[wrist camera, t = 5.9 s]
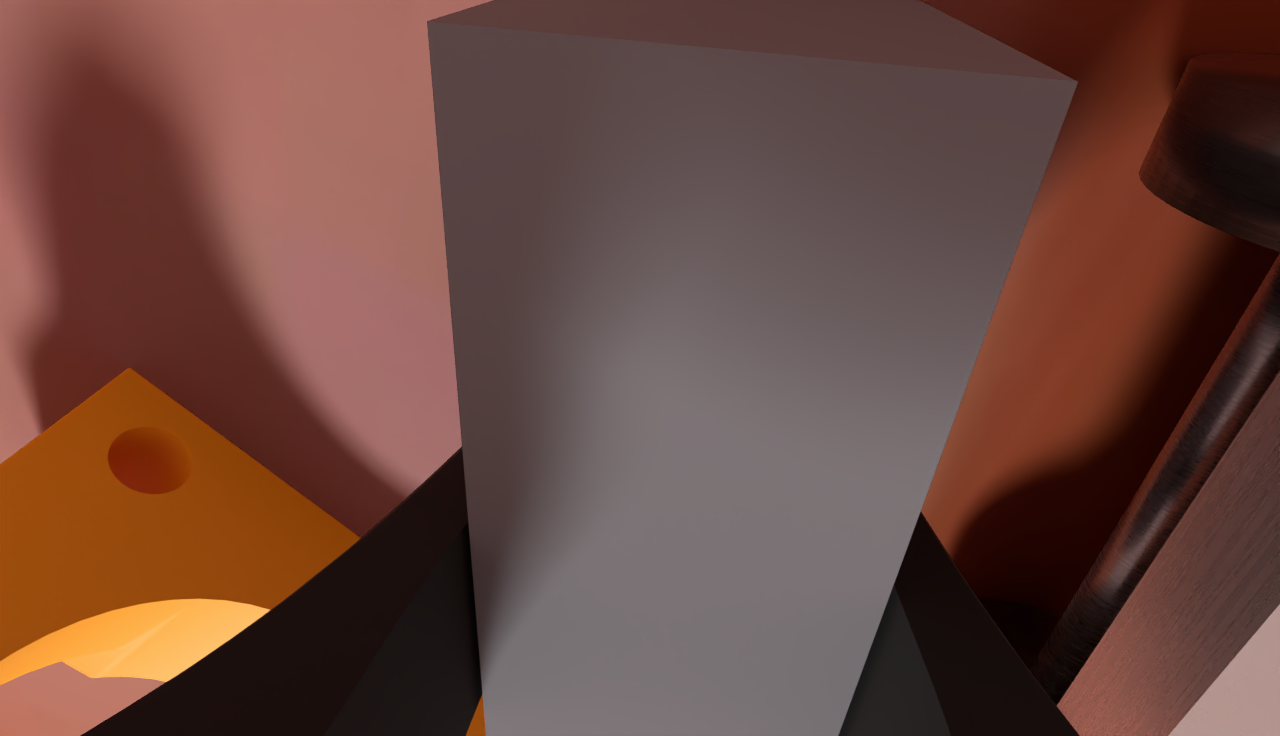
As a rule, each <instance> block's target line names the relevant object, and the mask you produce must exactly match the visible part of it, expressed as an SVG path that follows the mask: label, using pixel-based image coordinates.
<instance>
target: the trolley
mask: <svg viewBox="0 0 1280 736" xmlns="http://www.w3.org/2000/svg"><path fill="white" fill-rule="evenodd" d="M1139 175H1140V179H1141V181H1142V182H1143V184H1144V185H1145V186H1146V187H1147V188H1148V189H1149V190H1150V191H1151V192H1152V193H1153V194H1154V195H1156V196H1157V197H1159V198H1160V199H1161V200H1163V201H1164V202H1166V203H1167V204H1169V205H1171V206H1172V207H1174V208H1176V209H1178V210H1180V211H1181V212H1183V213H1185V214H1187V215H1189V216H1191V217H1193V218H1195V219H1197V220H1199V221H1201V222H1203V223H1205V224H1208V225H1210V226H1212V227H1215V228H1217V229H1219V230H1222V231H1224V232H1226V233H1229V234H1231V235H1234V236H1236V237H1239V238H1242V239H1244V240H1247V241H1250V242H1252V243H1255V244H1258V245H1260V246H1263V247H1266V248H1269V249H1272V250H1275V251H1278V252H1280V54H1264V53H1209V54H1201V55H1197V56H1194V57H1192V58H1190V60H1189V62H1188V64H1187V66H1186V69H1185V71H1184V73H1183V75H1182V78H1181V80H1180V82H1179V84H1178V86H1177V89H1176V91H1175V93H1174V95H1173V97H1172V100H1171V102H1170V104H1169V106H1168V109H1167V111H1166V113H1165V115H1164V117H1163V120H1162V122H1161V124H1160V126H1159V128H1158V131H1157V133H1156V135H1155V137H1154V139H1153V142H1152V144H1151V146H1150V148H1149V151H1148V153H1147V155H1146V157H1145V159H1144V162H1143V164H1142V166H1141V168H1140V171H1139ZM981 604H982V605H983V606H984V608H985V609H986V611H987V612H988V614H989V615H990V616H991V618H992V619H993V621H994V622H995V623H996V625H997V626H998V628H999V629H1000V630H1001V632H1002V633H1003V635H1004V636H1005V637H1006V639H1007V640H1008V642H1009V643H1010V644H1011V646H1012V647H1013V649H1014V650H1015V651H1016V653H1017V654H1018V656H1019V657H1020V658H1021V660H1022V661H1023V662H1024V664H1025V665H1026V666H1027V668H1028V669H1029V670H1030V672H1031V673H1032V675H1033V676H1034V677H1035V679H1036V680H1037V681H1038V683H1039V684H1040V685H1041V687H1042V688H1043V689H1044V691H1045V692H1046V693H1047V694H1048V696H1049V697H1050V698H1051V699H1052V701H1053V702H1054V703H1055V705H1056V706H1057V707H1058V708H1059V710H1060V711H1061V712H1062V714H1063V715H1064V716H1065V717H1066V719H1067V720H1068V721H1069V722H1070V724H1071V725H1072V726H1073V728H1074V729H1075V730H1076V731H1077V733H1078V734H1079V735H1080V736H1280V253H1279V255H1278V257H1277V258H1276V260H1275V262H1274V263H1273V265H1272V267H1271V268H1270V270H1269V272H1268V273H1267V275H1266V277H1265V278H1264V280H1263V282H1262V283H1261V285H1260V287H1259V288H1258V290H1257V292H1256V293H1255V295H1254V297H1253V298H1252V300H1251V302H1250V303H1249V305H1248V307H1247V308H1246V310H1245V312H1244V313H1243V315H1242V317H1241V318H1240V320H1239V322H1238V323H1237V325H1236V327H1235V328H1234V330H1233V332H1232V333H1231V335H1230V337H1229V338H1228V340H1227V342H1226V343H1225V345H1224V347H1223V348H1222V350H1221V352H1220V353H1219V355H1218V357H1217V358H1216V360H1215V362H1214V363H1213V365H1212V367H1211V368H1210V370H1209V372H1208V373H1207V375H1206V377H1205V378H1204V380H1203V382H1202V383H1201V385H1200V387H1199V388H1198V390H1197V392H1196V393H1195V395H1194V397H1193V398H1192V400H1191V402H1190V403H1189V405H1188V407H1187V408H1186V410H1185V412H1184V413H1183V415H1182V417H1181V418H1180V420H1179V422H1178V423H1177V425H1176V427H1175V429H1174V430H1173V432H1172V434H1171V435H1170V437H1169V439H1168V440H1167V442H1166V444H1165V445H1164V447H1163V449H1162V450H1161V452H1160V454H1159V455H1158V457H1157V459H1156V460H1155V462H1154V464H1153V465H1152V467H1151V469H1150V470H1149V472H1148V474H1147V475H1146V477H1145V479H1144V480H1143V482H1142V484H1141V485H1140V487H1139V489H1138V490H1137V492H1136V494H1135V495H1134V497H1133V499H1132V500H1131V502H1130V504H1129V505H1128V507H1127V509H1126V510H1125V512H1124V514H1123V515H1122V517H1121V519H1120V520H1119V522H1118V524H1117V525H1116V527H1115V529H1114V530H1113V532H1112V534H1111V535H1110V537H1109V539H1108V540H1107V542H1106V544H1105V545H1104V547H1103V549H1102V550H1101V552H1100V554H1099V555H1098V557H1097V559H1096V560H1095V562H1094V564H1093V565H1092V567H1091V569H1090V570H1089V572H1088V574H1087V575H1086V577H1085V579H1084V580H1083V582H1082V584H1081V585H1080V587H1079V589H1078V590H1077V592H1076V594H1075V595H1074V597H1073V599H1072V600H1071V602H1070V604H1069V605H1068V607H1067V609H1066V610H1065V612H1064V614H1063V615H1062V617H1061V618H1059V617H1057V616H1054V615H1052V614H1049V613H1046V612H1044V611H1041V610H1038V609H1034V608H1031V607H1027V606H1023V605H1018V604H1013V603H1003V602H982V603H981Z"/></svg>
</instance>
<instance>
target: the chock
mask: <svg viewBox="0 0 1280 736" xmlns="http://www.w3.org/2000/svg"><path fill="white" fill-rule="evenodd" d="M427 26H428V38H429V50H430V62H431V74H432V86H433V99H434V111H435V123H436V135H437V147H438V159H439V171H440V183H441V196H442V208H443V220H444V232H445V244H446V256H447V268H448V281H449V293H450V305H451V317H452V329H453V341H454V353H455V366H456V378H457V390H458V402H459V414H460V426H461V438H462V450H463V463H464V475H465V487H466V499H467V511H468V523H469V535H470V548H471V560H472V572H473V584H474V596H475V608H476V620H477V632H478V645H479V657H480V669H481V681H482V693H483V705H484V717H485V730H486V736H838V735H839V732H840V730H841V727H842V724H843V721H844V719H845V716H846V713H847V711H848V708H849V705H850V702H851V700H852V697H853V694H854V692H855V689H856V686H857V683H858V681H859V678H860V675H861V672H862V670H863V667H864V664H865V662H866V659H867V656H868V653H869V651H870V648H871V645H872V642H873V640H874V637H875V634H876V632H877V629H878V626H879V623H880V621H881V618H882V615H883V612H884V610H885V607H886V604H887V602H888V599H889V596H890V593H891V591H892V588H893V585H894V582H895V580H896V577H897V574H898V572H899V569H900V566H901V563H902V561H903V558H904V555H905V553H906V550H907V547H908V544H909V542H910V539H911V536H912V533H913V531H914V528H915V525H916V523H917V520H918V517H919V514H920V512H921V509H922V506H923V503H924V501H925V498H926V495H927V493H928V490H929V487H930V484H931V482H932V479H933V476H934V473H935V471H936V468H937V465H938V463H939V460H940V457H941V454H942V452H943V449H944V446H945V443H946V441H947V438H948V435H949V433H950V430H951V427H952V424H953V422H954V419H955V416H956V413H957V411H958V408H959V405H960V403H961V400H962V397H963V394H964V392H965V389H966V386H967V384H968V381H969V378H970V375H971V373H972V370H973V367H974V364H975V362H976V359H977V356H978V354H979V351H980V348H981V345H982V343H983V340H984V337H985V334H986V332H987V329H988V326H989V324H990V321H991V318H992V315H993V313H994V310H995V307H996V304H997V302H998V299H999V296H1000V294H1001V291H1002V288H1003V285H1004V283H1005V280H1006V277H1007V274H1008V272H1009V269H1010V266H1011V264H1012V261H1013V258H1014V255H1015V253H1016V250H1017V247H1018V245H1019V242H1020V239H1021V236H1022V234H1023V231H1024V228H1025V225H1026V223H1027V220H1028V217H1029V215H1030V212H1031V209H1032V206H1033V204H1034V201H1035V198H1036V195H1037V193H1038V190H1039V187H1040V185H1041V182H1042V179H1043V176H1044V174H1045V171H1046V168H1047V165H1048V163H1049V160H1050V157H1051V155H1052V152H1053V149H1054V146H1055V144H1056V141H1057V138H1058V135H1059V133H1060V130H1061V127H1062V125H1063V122H1064V119H1065V116H1066V114H1067V111H1068V108H1069V106H1070V103H1071V100H1072V97H1073V95H1074V92H1075V89H1076V86H1077V84H1078V81H1076V80H1074V79H1072V78H1070V77H1068V76H1066V75H1064V74H1062V73H1060V72H1058V71H1056V70H1055V69H1053V68H1051V67H1049V66H1047V65H1045V64H1043V63H1041V62H1039V61H1037V60H1035V59H1033V58H1031V57H1029V56H1027V55H1025V54H1023V53H1021V52H1019V51H1018V50H1016V49H1014V48H1012V47H1010V46H1008V45H1006V44H1004V43H1002V42H1000V41H998V40H996V39H994V38H992V37H990V36H988V35H986V34H984V33H983V32H981V31H979V30H977V29H975V28H973V27H971V26H969V25H967V24H965V23H963V22H961V21H959V20H957V19H955V18H953V17H951V16H949V15H947V14H946V13H944V12H942V11H940V10H938V9H936V8H934V7H932V6H930V5H928V4H926V3H924V2H922V1H920V0H494V1H490V2H487V3H484V4H481V5H478V6H474V7H471V8H468V9H465V10H462V11H459V12H455V13H452V14H449V15H446V16H443V17H439V18H436V19H433V20H430V21H427Z"/></svg>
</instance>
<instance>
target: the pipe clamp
mask: <svg viewBox="0 0 1280 736" xmlns="http://www.w3.org/2000/svg"><path fill="white" fill-rule="evenodd" d="M359 539H360V537H359V536H357V535H356V534H355V533H353V532H352V531H351V530H349V529H348V528H347V527H345V526H344V525H342V524H341V523H340V522H338V521H337V520H336V519H334V518H333V517H332V516H330V515H329V514H328V513H326V512H325V511H323V510H322V509H321V508H319V507H318V506H317V505H315V504H314V503H313V502H311V501H310V500H309V499H307V498H306V497H304V496H303V495H302V494H300V493H299V492H298V491H296V490H295V489H294V488H292V487H291V486H290V485H288V484H287V483H286V482H284V481H283V480H281V479H280V478H279V477H277V476H276V475H275V474H273V473H272V472H271V471H269V470H268V469H267V468H265V467H264V466H262V465H261V464H260V463H258V462H257V461H256V460H254V459H253V458H252V457H250V456H249V455H248V454H246V453H245V452H243V451H242V450H241V449H239V448H238V447H237V446H235V445H234V444H233V443H231V442H230V441H229V440H227V439H226V438H225V437H223V436H222V435H220V434H219V433H218V432H216V431H215V430H214V429H212V428H211V427H210V426H208V425H207V424H206V423H204V422H203V421H201V420H200V419H199V418H197V417H196V416H195V415H193V414H192V413H191V412H189V411H188V410H187V409H185V408H184V407H182V406H181V405H180V404H178V403H177V402H176V401H174V400H173V399H172V398H170V397H169V396H168V395H166V394H165V393H164V392H162V391H161V390H159V389H158V388H157V387H155V386H154V385H153V384H151V383H150V382H149V381H147V380H146V379H145V378H143V377H142V376H140V375H139V374H138V373H136V372H135V371H134V370H132V369H131V368H130V367H129V368H128V369H126V370H125V371H124V372H122V373H121V374H120V375H118V376H117V377H116V378H114V379H113V380H112V381H110V382H109V383H108V384H106V385H105V386H104V387H102V388H101V389H100V390H98V391H97V392H96V393H94V394H93V395H92V396H90V397H89V398H88V399H86V400H85V401H84V402H82V403H81V404H80V405H78V406H77V407H76V408H74V409H73V410H72V411H70V412H69V413H68V414H66V415H65V416H64V417H62V418H61V419H60V420H58V421H57V422H56V423H54V424H53V425H52V426H50V427H49V428H48V429H46V430H45V431H44V432H43V433H41V434H40V435H39V436H37V437H36V438H35V439H33V440H32V441H31V442H29V443H28V444H27V445H25V446H24V447H23V448H21V449H20V450H19V451H17V452H16V453H15V454H13V455H12V456H11V457H9V458H8V459H7V460H5V461H4V462H3V463H1V464H0V685H1V684H4V683H6V682H8V681H10V680H12V679H15V678H17V677H19V676H21V675H23V674H26V673H29V672H31V671H34V670H37V669H40V668H42V667H45V666H48V665H51V664H54V663H57V662H61V661H62V662H64V663H66V664H67V665H69V666H71V667H73V668H74V669H76V670H78V671H80V672H81V673H83V674H85V675H87V676H88V677H90V678H99V677H136V678H147V679H155V680H160V681H165V682H167V681H169V680H170V679H172V678H173V677H175V676H177V675H178V674H180V673H181V672H183V671H184V670H186V669H187V668H189V667H190V666H192V665H193V664H195V663H196V662H198V661H199V660H201V659H202V658H204V657H205V656H207V655H208V654H209V653H211V652H212V651H214V650H215V649H217V648H218V647H220V646H221V645H222V644H224V643H225V642H227V641H228V640H230V639H231V638H233V637H234V636H235V635H237V634H238V633H240V632H241V631H242V630H244V629H245V628H247V627H248V626H249V625H251V624H252V623H254V622H255V621H256V620H258V619H259V618H260V617H262V616H263V615H264V614H266V613H267V612H268V611H270V610H271V609H273V608H274V607H275V606H277V605H278V604H279V603H281V602H282V601H283V600H285V599H286V598H287V597H288V596H290V595H291V594H292V593H293V592H295V591H296V590H297V589H299V588H300V587H301V586H302V585H304V584H305V583H306V582H307V581H309V580H310V579H311V578H312V577H314V576H315V575H316V574H317V573H319V572H320V571H321V570H322V569H324V568H325V567H326V566H327V565H329V564H330V563H331V562H332V561H334V560H335V559H336V558H337V557H339V556H340V555H341V554H342V553H344V552H345V551H346V550H347V549H349V548H350V547H351V546H352V545H353V544H355V543H356V542H357V541H358V540H359ZM466 736H486V730H485V717H484V705H483V694H482V696H481V699H480V701H479V704H478V706H477V709H476V711H475V714H474V716H473V719H472V721H471V724H470V726H469V729H468V731H467V734H466Z"/></svg>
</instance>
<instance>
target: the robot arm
mask: <svg viewBox="0 0 1280 736" xmlns="http://www.w3.org/2000/svg"><path fill="white" fill-rule="evenodd" d="M482 694H483V693H482V681H481V669H480V657H479V645H478V632H477V620H476V608H475V596H474V584H473V572H472V560H471V548H470V535H469V523H468V511H467V499H466V487H465V475H464V463H463V450H462V447H461V448H460V449H459V450H458V451H457V452H456V453H455V454H453V455H452V456H451V457H450V458H449V459H448V460H447V461H446V462H445V463H444V464H443V465H442V466H441V467H440V468H439V469H438V470H437V471H435V472H434V473H433V474H432V475H431V476H430V477H429V478H428V479H427V480H426V481H425V482H424V483H423V484H421V485H420V486H419V487H418V488H417V489H416V490H415V491H414V492H413V493H412V494H411V495H409V496H408V497H407V498H406V499H405V500H404V501H403V502H402V503H401V504H399V505H398V506H397V507H396V508H395V509H394V510H393V511H391V512H390V513H389V514H388V515H387V516H386V517H384V518H383V519H382V520H381V521H380V522H379V523H378V524H376V525H375V526H374V527H373V528H372V529H371V530H370V531H368V532H367V533H366V534H365V535H364V536H363V537H362V538H360V539H359V540H358V541H357V542H356V543H355V544H353V545H352V546H351V547H350V548H349V549H347V550H346V551H345V552H344V553H342V554H341V555H340V556H339V557H337V558H336V559H335V560H334V561H332V562H331V563H330V564H329V565H327V566H326V567H325V568H324V569H322V570H321V571H320V572H319V573H317V574H316V575H315V576H314V577H312V578H311V579H310V580H309V581H307V582H306V583H305V584H304V585H302V586H301V587H300V588H299V589H297V590H296V591H295V592H293V593H292V594H291V595H290V596H288V597H287V598H286V599H285V600H283V601H282V602H281V603H279V604H278V605H277V606H275V607H274V608H273V609H271V610H270V611H268V612H267V613H266V614H264V615H263V616H262V617H260V618H259V619H258V620H256V621H255V622H254V623H252V624H251V625H249V626H248V627H247V628H245V629H244V630H242V631H241V632H240V633H238V634H237V635H235V636H234V637H233V638H231V639H230V640H228V641H227V642H225V643H224V644H222V645H221V646H220V647H218V648H217V649H215V650H214V651H212V652H211V653H209V654H208V655H207V656H205V657H204V658H202V659H201V660H199V661H198V662H196V663H195V664H193V665H192V666H190V667H189V668H187V669H186V670H184V671H183V672H181V673H180V674H178V675H177V676H175V677H173V678H172V679H170V680H169V681H167V682H166V683H164V684H163V685H161V686H159V687H158V688H156V689H155V690H153V691H152V692H150V693H148V694H147V695H145V696H144V697H142V698H141V699H139V700H137V701H136V702H134V703H133V704H131V705H130V706H128V707H126V708H125V709H123V710H122V711H120V712H118V713H117V714H115V715H113V716H112V717H110V718H109V719H107V720H105V721H104V722H102V723H100V724H99V725H97V726H96V727H94V728H92V729H91V730H89V731H87V732H86V733H84V734H82V735H81V736H466V734H467V731H468V729H469V726H470V724H471V721H472V719H473V716H474V714H475V711H476V709H477V706H478V704H479V701H480V699H481V696H482ZM838 736H1080V735H1079V734H1078V733H1077V731H1076V730H1075V729H1074V728H1073V726H1072V725H1071V724H1070V722H1069V721H1068V720H1067V719H1066V717H1065V716H1064V715H1063V714H1062V712H1061V711H1060V710H1059V708H1058V707H1057V706H1056V705H1055V703H1054V702H1053V701H1052V699H1051V698H1050V697H1049V696H1048V694H1047V693H1046V692H1045V691H1044V689H1043V688H1042V687H1041V685H1040V684H1039V683H1038V681H1037V680H1036V679H1035V677H1034V676H1033V675H1032V673H1031V672H1030V670H1029V669H1028V668H1027V666H1026V665H1025V664H1024V662H1023V661H1022V660H1021V658H1020V657H1019V656H1018V654H1017V653H1016V651H1015V650H1014V649H1013V647H1012V646H1011V644H1010V643H1009V642H1008V640H1007V639H1006V637H1005V636H1004V635H1003V633H1002V632H1001V630H1000V629H999V628H998V626H997V625H996V623H995V622H994V621H993V619H992V618H991V616H990V615H989V614H988V612H987V611H986V609H985V608H984V606H983V605H982V604H981V602H980V601H979V599H978V598H977V596H976V595H975V593H974V592H973V590H972V589H971V587H970V586H969V585H968V583H967V582H966V580H965V579H964V577H963V575H962V574H961V572H960V571H959V569H958V568H957V566H956V565H955V563H954V562H953V560H952V559H951V557H950V556H949V554H948V553H947V551H946V550H945V548H944V547H943V545H942V544H941V542H940V540H939V539H938V537H937V536H936V534H935V533H934V531H933V530H932V528H931V526H930V525H929V523H928V522H927V520H926V519H925V517H924V515H923V514H922V512H920V514H919V517H918V520H917V523H916V525H915V528H914V531H913V533H912V536H911V539H910V542H909V544H908V547H907V550H906V553H905V555H904V558H903V561H902V563H901V566H900V569H899V572H898V574H897V577H896V580H895V582H894V585H893V588H892V591H891V593H890V596H889V599H888V602H887V604H886V607H885V610H884V612H883V615H882V618H881V621H880V623H879V626H878V629H877V632H876V634H875V637H874V640H873V642H872V645H871V648H870V651H869V653H868V656H867V659H866V662H865V664H864V667H863V670H862V672H861V675H860V678H859V681H858V683H857V686H856V689H855V692H854V694H853V697H852V700H851V702H850V705H849V708H848V711H847V713H846V716H845V719H844V721H843V724H842V727H841V730H840V732H839V735H838Z"/></svg>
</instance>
